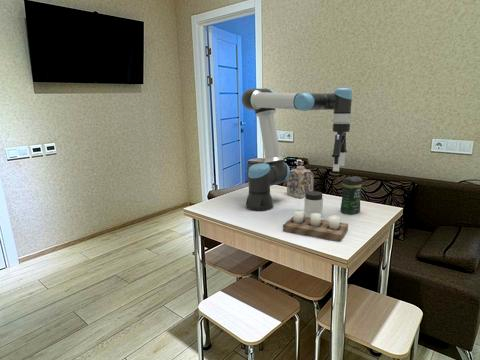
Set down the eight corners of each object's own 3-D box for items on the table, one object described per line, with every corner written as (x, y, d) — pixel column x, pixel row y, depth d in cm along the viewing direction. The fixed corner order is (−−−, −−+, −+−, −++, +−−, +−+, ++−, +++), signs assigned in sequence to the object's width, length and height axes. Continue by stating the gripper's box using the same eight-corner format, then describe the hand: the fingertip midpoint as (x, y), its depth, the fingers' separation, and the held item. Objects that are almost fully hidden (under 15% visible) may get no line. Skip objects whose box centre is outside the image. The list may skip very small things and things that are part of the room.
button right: (327, 229, 135) (327, 217, 134) (330, 225, 139) (330, 214, 138) (337, 230, 133) (338, 219, 132) (340, 227, 137) (340, 216, 136)
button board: (282, 231, 141) (282, 224, 140) (294, 221, 153) (294, 214, 152) (340, 241, 128) (340, 234, 128) (347, 230, 140) (348, 223, 140)
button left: (291, 223, 143) (291, 212, 142) (295, 220, 147) (295, 209, 146) (301, 224, 141) (301, 213, 140) (304, 221, 145) (304, 211, 143)
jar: (325, 217, 157) (326, 194, 154) (312, 220, 153) (313, 196, 150) (314, 212, 165) (314, 190, 162) (301, 215, 161) (301, 192, 158)
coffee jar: (350, 215, 158) (352, 179, 154) (337, 211, 165) (339, 176, 161) (363, 212, 163) (365, 176, 159) (350, 208, 170) (352, 174, 166)
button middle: (309, 226, 139) (309, 215, 138) (312, 222, 143) (312, 212, 142) (318, 227, 137) (319, 216, 136) (321, 224, 141) (322, 213, 140)
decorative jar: (313, 195, 195) (314, 166, 191) (299, 198, 189) (300, 169, 185) (300, 191, 205) (300, 164, 201) (286, 194, 199) (286, 166, 195)
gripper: (345, 125, 133) (342, 174, 138) (354, 121, 155) (351, 164, 160) (327, 124, 137) (324, 172, 142) (338, 121, 158) (335, 163, 163)
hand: (338, 168), depth 151 cm, fingers open, 13 cm apart
